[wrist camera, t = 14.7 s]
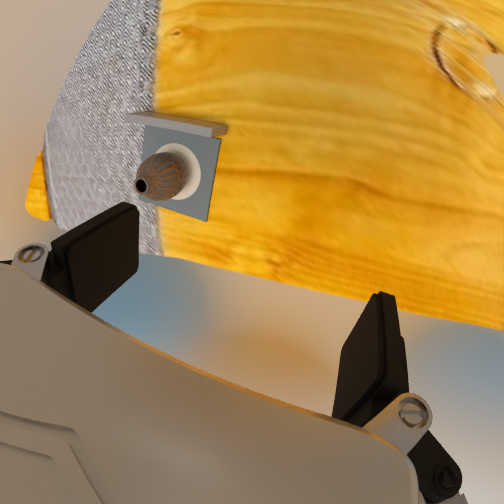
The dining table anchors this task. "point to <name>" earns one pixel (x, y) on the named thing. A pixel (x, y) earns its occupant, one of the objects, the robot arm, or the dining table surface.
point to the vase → (161, 176)
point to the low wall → (177, 123)
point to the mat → (198, 164)
